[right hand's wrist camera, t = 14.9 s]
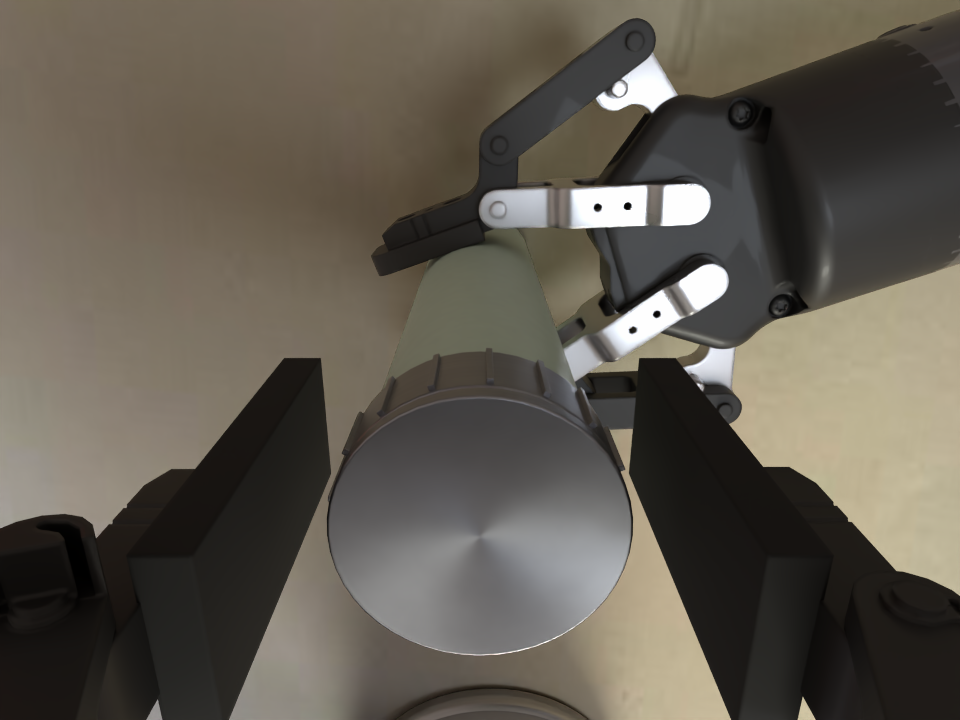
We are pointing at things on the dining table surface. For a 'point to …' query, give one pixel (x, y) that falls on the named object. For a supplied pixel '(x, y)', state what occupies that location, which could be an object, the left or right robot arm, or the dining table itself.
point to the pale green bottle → (481, 308)
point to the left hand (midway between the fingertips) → (407, 327)
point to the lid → (479, 506)
